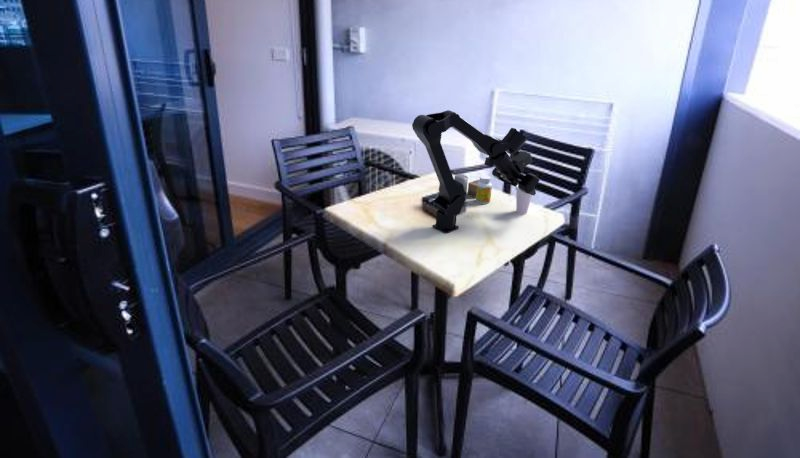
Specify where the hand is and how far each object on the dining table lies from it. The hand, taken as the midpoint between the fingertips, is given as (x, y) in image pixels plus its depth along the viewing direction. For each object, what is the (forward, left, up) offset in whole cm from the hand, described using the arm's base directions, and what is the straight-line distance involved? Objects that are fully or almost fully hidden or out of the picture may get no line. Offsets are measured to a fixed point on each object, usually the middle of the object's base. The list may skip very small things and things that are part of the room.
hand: (525, 190), depth 166 cm
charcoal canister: (-6, +24, -8) cm, 27 cm away
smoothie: (0, 0, -9) cm, 9 cm away
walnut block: (+1, +21, -8) cm, 23 cm away
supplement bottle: (-3, +15, -9) cm, 18 cm away
